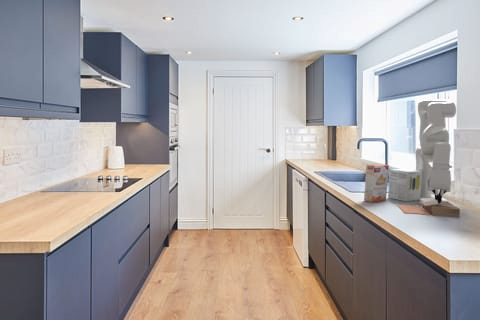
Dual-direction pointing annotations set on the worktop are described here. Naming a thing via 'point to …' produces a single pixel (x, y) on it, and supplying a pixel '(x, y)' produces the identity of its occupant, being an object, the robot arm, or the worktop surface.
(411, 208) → the rubber mat
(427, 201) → the ceramic tile
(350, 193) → the worktop surface
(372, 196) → the cracker box
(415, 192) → the supplement box
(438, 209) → the walnut block
